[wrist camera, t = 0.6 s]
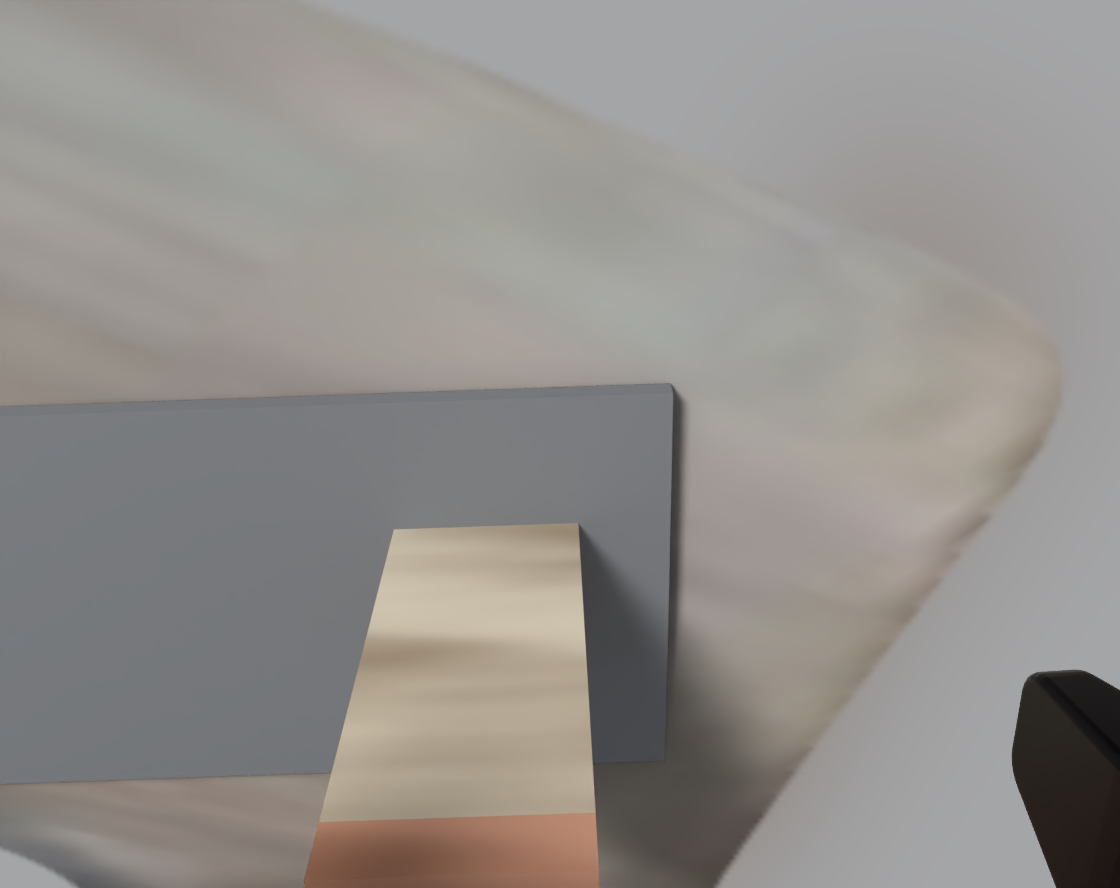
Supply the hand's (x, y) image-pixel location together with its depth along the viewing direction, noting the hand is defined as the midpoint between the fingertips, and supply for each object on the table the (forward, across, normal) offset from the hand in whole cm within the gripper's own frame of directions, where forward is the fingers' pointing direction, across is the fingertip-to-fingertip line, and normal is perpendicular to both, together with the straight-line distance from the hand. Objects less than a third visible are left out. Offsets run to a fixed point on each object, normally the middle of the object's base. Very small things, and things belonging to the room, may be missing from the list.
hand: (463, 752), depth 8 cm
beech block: (+12, +1, +7) cm, 14 cm away
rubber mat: (+13, +6, +7) cm, 16 cm away
